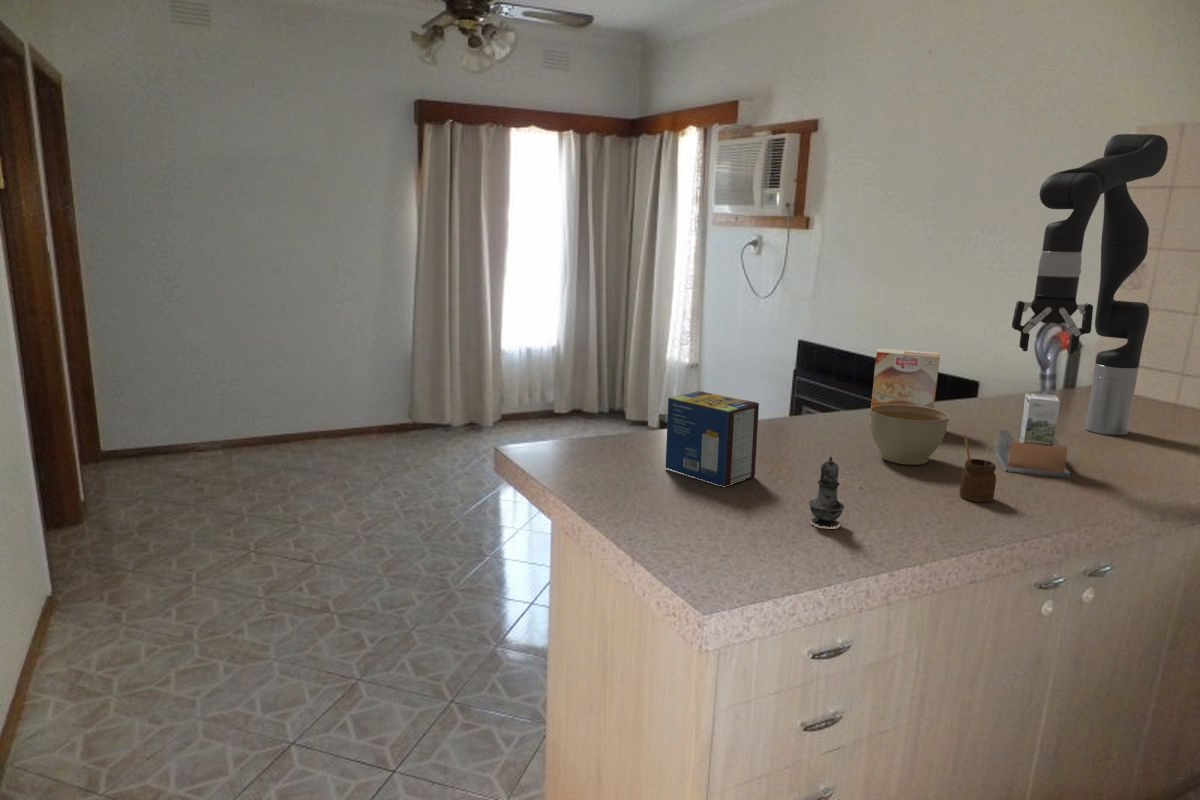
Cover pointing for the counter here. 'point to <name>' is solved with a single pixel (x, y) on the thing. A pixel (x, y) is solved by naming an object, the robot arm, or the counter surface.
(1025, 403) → the syrup box
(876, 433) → the planter bowl
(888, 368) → the coffeecake box
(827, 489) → the salt shaker
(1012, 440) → the guide bracket
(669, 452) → the protein box
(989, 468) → the utensil holder
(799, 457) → the counter surface
